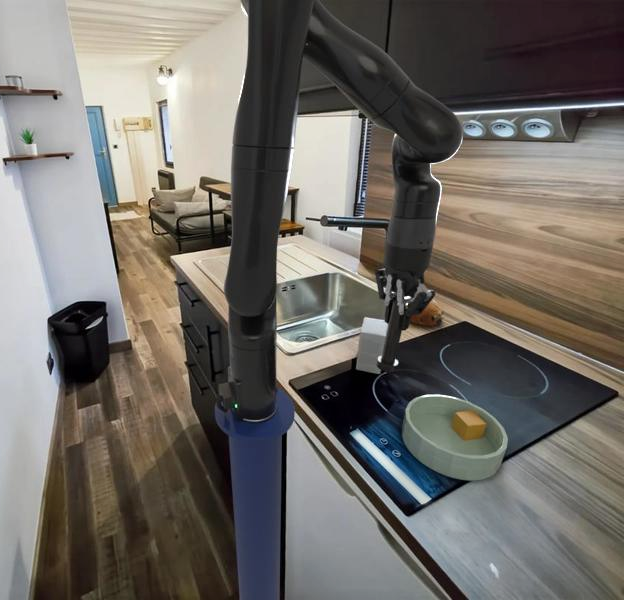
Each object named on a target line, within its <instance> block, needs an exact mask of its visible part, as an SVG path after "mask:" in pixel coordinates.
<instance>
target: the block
mask: <svg viewBox="0 0 624 600" xmlns="http://www.w3.org/2000/svg"><path fill="white" fill-rule="evenodd" d="M451 427H452V428H453V429H454V430H455V431H456V433H457V434H458V435H459V436H460V437H461V438H462V439H463V440H473V439H481V438H482V437H483V434H484V430H485V427H486V423H485V422H484V421H483V420H482V419H481V418H480V417H479V416H478V415H477V414H476V413H475V412H474V411H473V410H471V411H463V412H455V414H454V418H453V421H452V425H451Z"/></svg>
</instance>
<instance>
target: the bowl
mask: <svg viewBox="0 0 624 600" xmlns="http://www.w3.org/2000/svg"><path fill="white" fill-rule="evenodd" d="M471 410H473V411H474V412H475V413H476V414H477V415H478V416H479V417H480V418H481V419H482V420H483V421H484V422H485V423H486V427H485V430H484V434H483V437H482V438H481V439H473V440H463V439H462V438H461V437H460V436H459V435H458V434H457V433H456V431H455V430H454V429H453V428H452V427H451V425H452V421H453V418H454V414H455V412H463V411H471ZM401 437H402V441H403V443H404V445H405V447H406V448H407V450H408V452H410V454H411V455H412V456H413V457H414V458H415V459H416V460H418V461H419V462H420V463H421V464H422V465H424V466H425V467H427V468H429V469H431V470H433V471H434V472H436V473H439V474H441V475H444V476H445V477H449V478H451V479H455V480H460V481H467V482H468V481H475V482H476V481H482V480H486V479H489V478H491V477H492V476H493V475H495V474H496V473H497V472H498V470H499V468H500V467H501V465H502V462H503V459H504V457H505V454H506V452H507V448H508V444H509V443H508V442H509V437H508V435H507V432H506V430H505V428H504V426H503V425H502V424H501V423H500V422H499V421H498V420H497V419H496V417H494V415H492V414H491V413H489V412H488V411H486V410H485V409H484V408H482V407H480V406H478V405H476V404H475V403H473V402H470V401H467V400H465V399H462V398H458V397H455V396H450V395H445V394H424V395H420V396H416V397H415V398H413V399H412V400H410V401H409V402H408V404H407V406H406V408H405V410H404V416H403V420H402V425H401Z"/></svg>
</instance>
